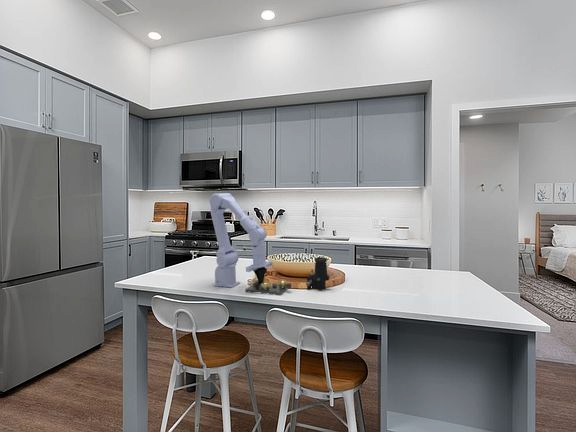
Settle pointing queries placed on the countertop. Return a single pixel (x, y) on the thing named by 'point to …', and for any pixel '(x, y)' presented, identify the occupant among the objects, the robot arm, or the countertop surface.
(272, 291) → the leveling base
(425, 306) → the countertop surface
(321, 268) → the scope
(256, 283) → the foot screw
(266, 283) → the footscrew right
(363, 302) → the countertop surface
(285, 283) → the foot screw
